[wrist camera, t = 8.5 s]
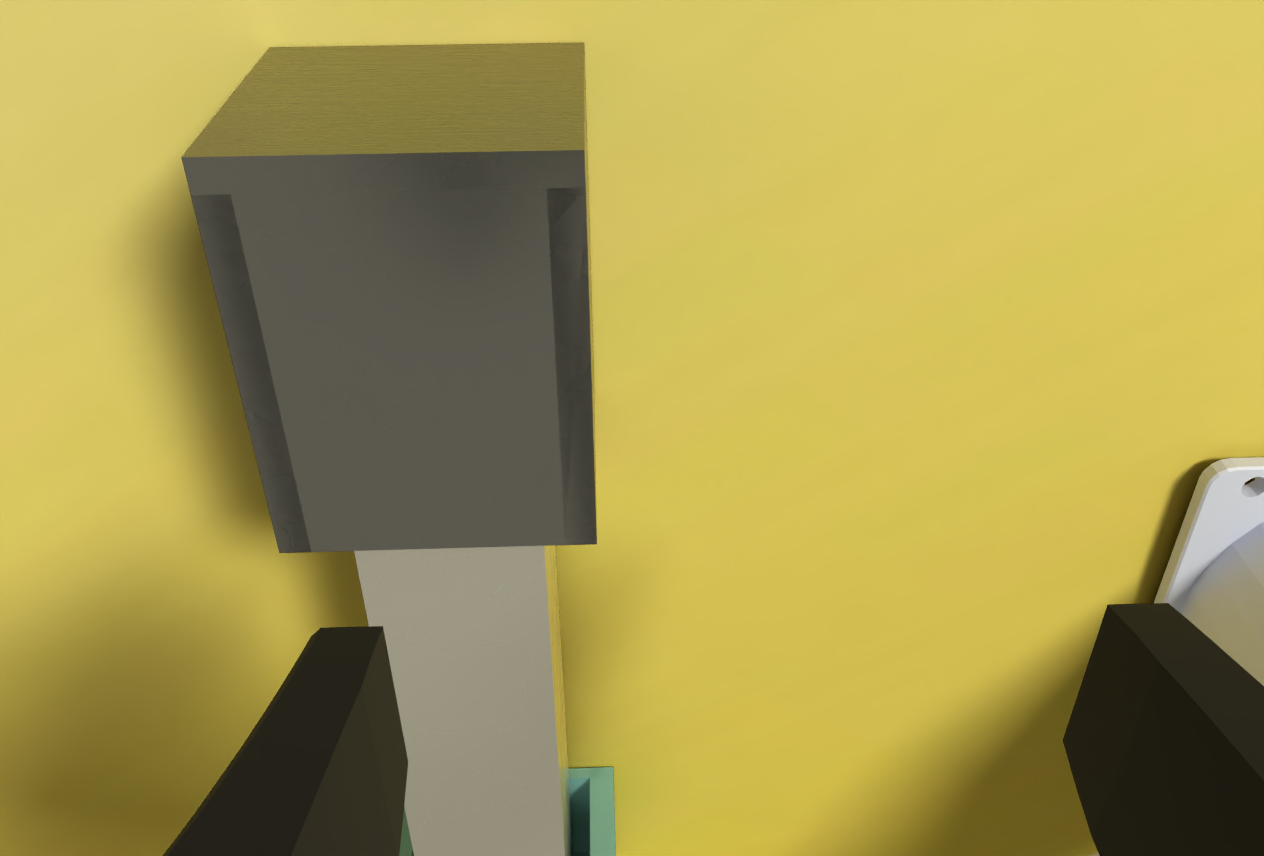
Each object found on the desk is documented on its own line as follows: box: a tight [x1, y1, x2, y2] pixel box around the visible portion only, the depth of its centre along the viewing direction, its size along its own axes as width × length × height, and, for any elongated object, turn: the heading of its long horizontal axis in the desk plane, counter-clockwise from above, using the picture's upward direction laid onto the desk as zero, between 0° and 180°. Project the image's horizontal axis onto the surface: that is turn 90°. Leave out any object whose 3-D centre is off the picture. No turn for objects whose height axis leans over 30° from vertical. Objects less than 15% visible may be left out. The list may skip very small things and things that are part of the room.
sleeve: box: [182, 43, 597, 553], centre depth 18 cm, size 5×6×5 cm
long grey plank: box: [354, 545, 573, 856], centre depth 23 cm, size 3×14×3 cm, turn 1°
